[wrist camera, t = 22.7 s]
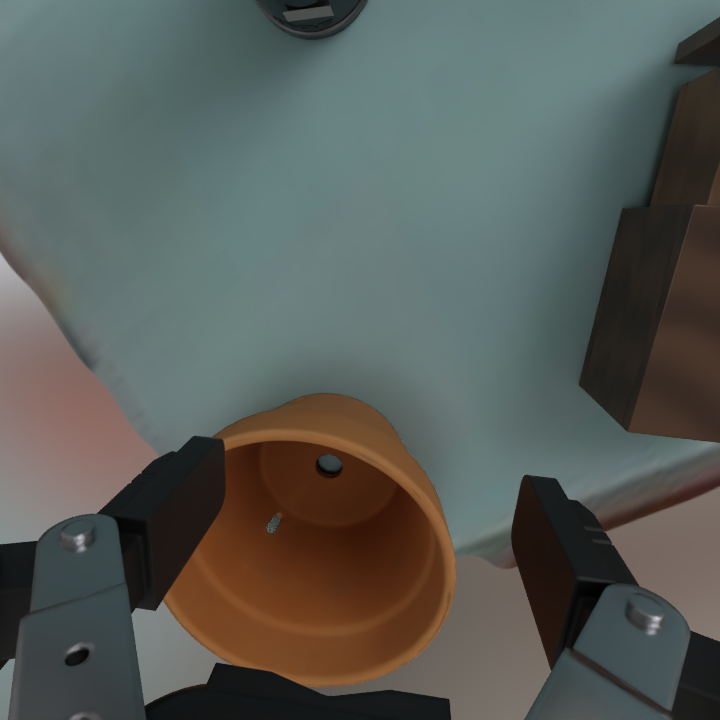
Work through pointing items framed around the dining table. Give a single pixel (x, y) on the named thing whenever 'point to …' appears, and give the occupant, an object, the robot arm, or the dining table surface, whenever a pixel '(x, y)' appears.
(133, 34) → the dining table surface
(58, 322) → the dining table surface
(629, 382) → the cabinet
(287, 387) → the dining table surface
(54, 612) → the robot arm
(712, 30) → the drawer
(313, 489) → the flower pot
